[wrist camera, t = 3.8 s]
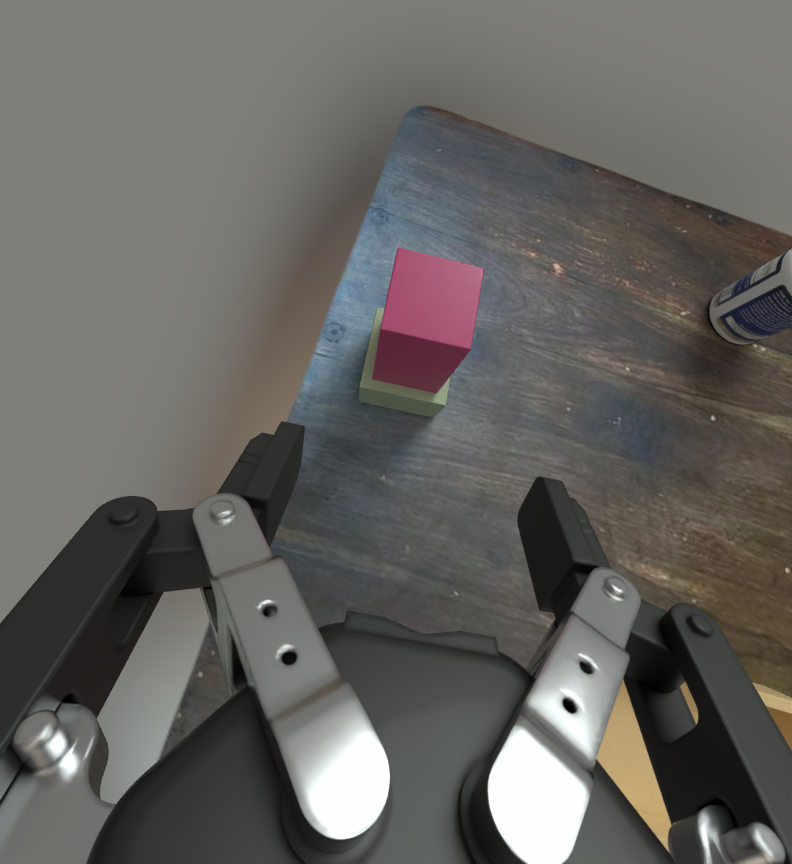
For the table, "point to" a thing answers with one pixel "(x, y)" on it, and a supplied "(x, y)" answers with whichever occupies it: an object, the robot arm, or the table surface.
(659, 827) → the tray
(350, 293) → the table surface
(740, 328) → the pill bottle
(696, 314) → the table surface
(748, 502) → the table surface
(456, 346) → the pink block
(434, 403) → the base block
